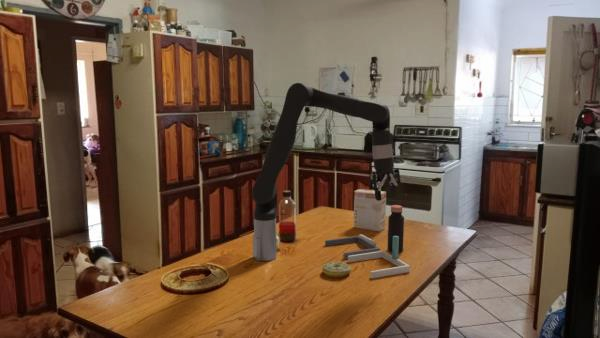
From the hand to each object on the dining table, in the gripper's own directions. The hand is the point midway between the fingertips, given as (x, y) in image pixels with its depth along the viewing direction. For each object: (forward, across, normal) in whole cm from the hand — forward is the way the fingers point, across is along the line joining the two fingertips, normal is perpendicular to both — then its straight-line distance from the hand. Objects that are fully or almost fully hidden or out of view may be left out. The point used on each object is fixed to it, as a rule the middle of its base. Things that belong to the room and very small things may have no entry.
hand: (386, 198), depth 177 cm
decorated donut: (+27, +20, -11) cm, 35 cm away
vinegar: (+29, -18, -16) cm, 38 cm away
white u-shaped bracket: (+28, +2, -6) cm, 29 cm away
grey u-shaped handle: (+27, -3, -28) cm, 39 cm away
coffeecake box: (+27, -33, -47) cm, 64 cm away
